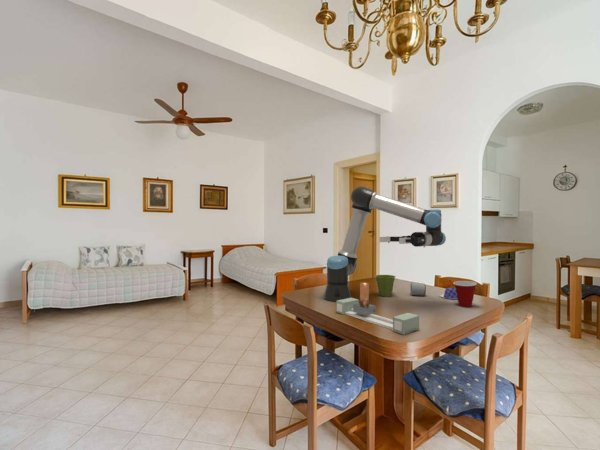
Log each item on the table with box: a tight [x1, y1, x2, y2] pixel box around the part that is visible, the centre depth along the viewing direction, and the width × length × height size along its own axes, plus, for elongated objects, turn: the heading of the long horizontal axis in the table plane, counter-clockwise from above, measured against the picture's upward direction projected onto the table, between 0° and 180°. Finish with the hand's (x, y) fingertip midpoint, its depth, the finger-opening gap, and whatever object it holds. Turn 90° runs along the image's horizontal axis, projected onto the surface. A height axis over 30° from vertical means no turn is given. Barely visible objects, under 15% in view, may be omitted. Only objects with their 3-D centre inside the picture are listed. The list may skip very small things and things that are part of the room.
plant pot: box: [374, 274, 396, 297], centre depth 181 cm, size 12×12×11 cm
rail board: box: [335, 297, 420, 336], centre depth 134 cm, size 37×10×6 cm, turn 37°
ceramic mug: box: [410, 281, 427, 297], centre depth 182 cm, size 11×8×8 cm
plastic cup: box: [452, 280, 478, 308], centre depth 158 cm, size 11×11×12 cm
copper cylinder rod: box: [353, 281, 377, 315], centre depth 139 cm, size 7×7×13 cm
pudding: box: [439, 287, 458, 300], centre depth 176 cm, size 12×12×5 cm
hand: (389, 240), depth 150 cm, fingers open, 13 cm apart
